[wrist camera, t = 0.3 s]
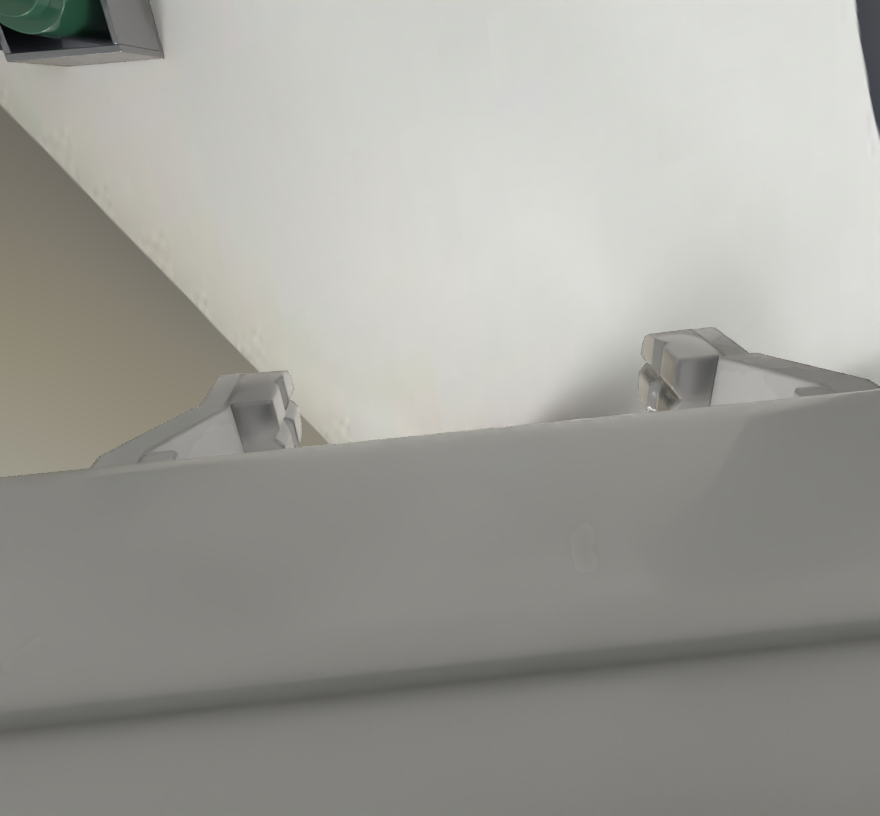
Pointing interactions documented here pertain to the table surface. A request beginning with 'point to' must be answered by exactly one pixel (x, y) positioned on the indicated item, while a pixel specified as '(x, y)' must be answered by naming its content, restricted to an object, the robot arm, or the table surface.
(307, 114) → the table surface
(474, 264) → the table surface
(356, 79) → the table surface
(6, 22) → the bottle
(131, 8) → the bin
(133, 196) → the table surface
